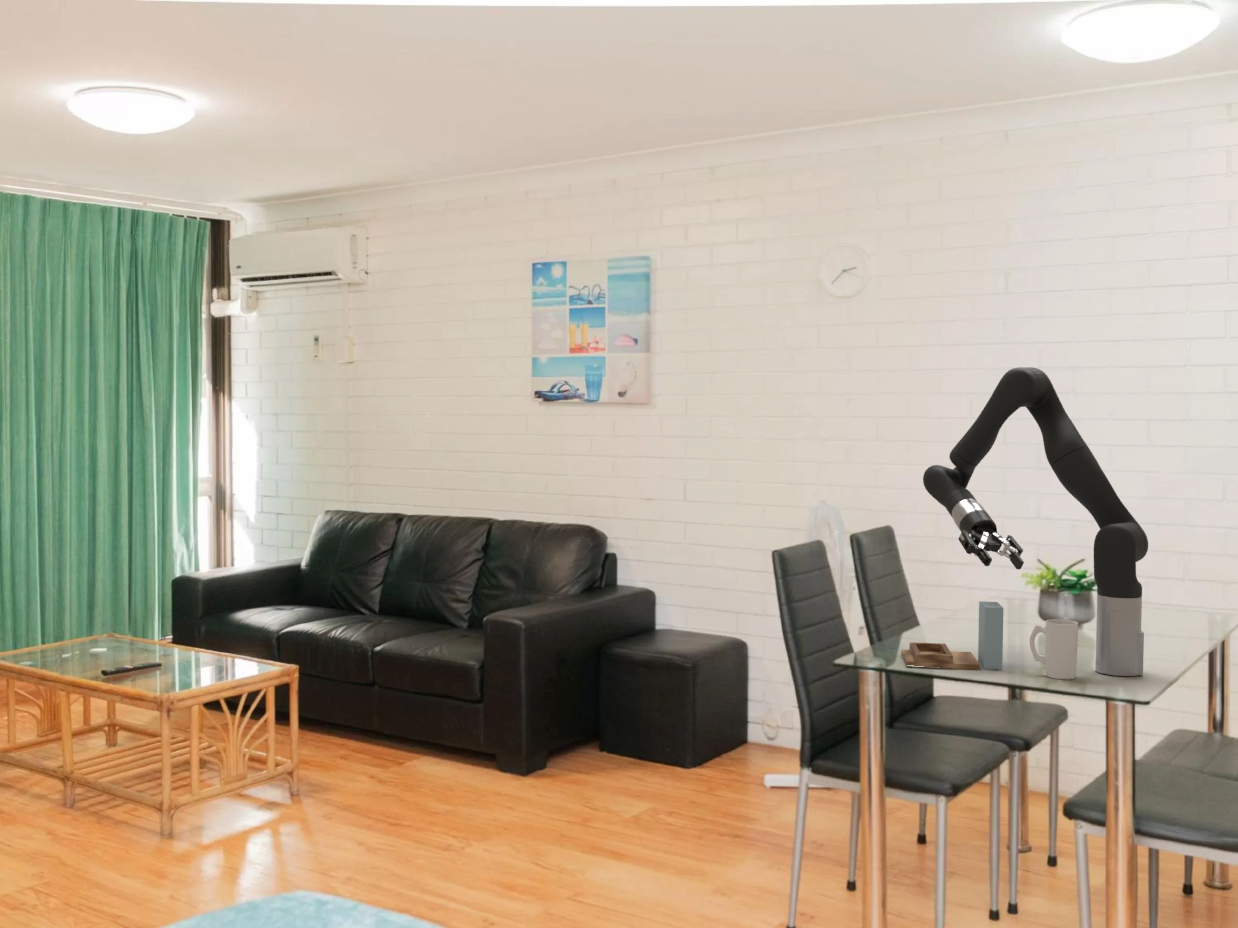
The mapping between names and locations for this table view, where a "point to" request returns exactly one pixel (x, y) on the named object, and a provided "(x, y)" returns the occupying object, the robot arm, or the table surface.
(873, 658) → the table surface
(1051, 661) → the mug
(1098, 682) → the table surface
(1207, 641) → the table surface
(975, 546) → the robot arm
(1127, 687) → the table surface
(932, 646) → the base
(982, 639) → the door panel
